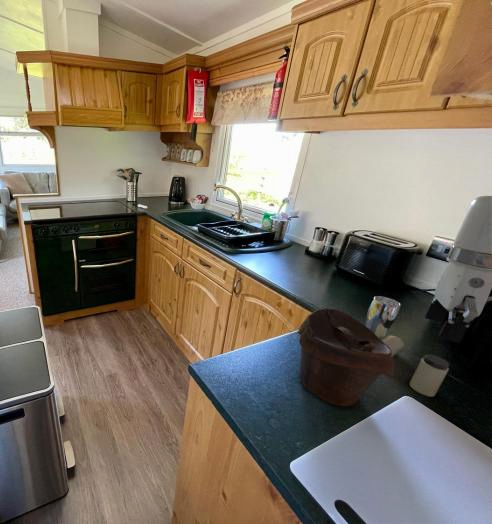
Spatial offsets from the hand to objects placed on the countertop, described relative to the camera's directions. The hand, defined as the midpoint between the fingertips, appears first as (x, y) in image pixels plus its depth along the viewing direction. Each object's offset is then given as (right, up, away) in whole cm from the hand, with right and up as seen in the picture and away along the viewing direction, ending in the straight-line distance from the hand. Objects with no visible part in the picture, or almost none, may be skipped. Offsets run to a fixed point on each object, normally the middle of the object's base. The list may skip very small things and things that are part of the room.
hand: (440, 329), depth 65 cm
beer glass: (+6, -11, +28) cm, 31 cm away
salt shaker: (+10, -10, +24) cm, 28 cm away
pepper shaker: (+5, -18, +9) cm, 20 cm away
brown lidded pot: (-20, -17, +8) cm, 27 cm away
